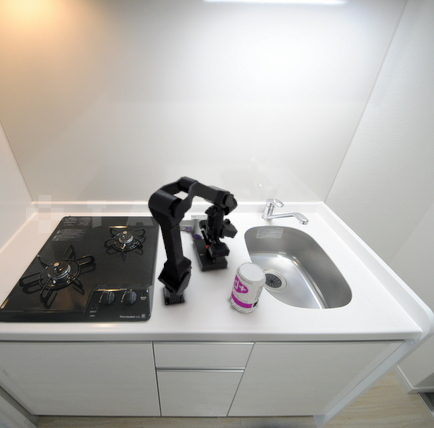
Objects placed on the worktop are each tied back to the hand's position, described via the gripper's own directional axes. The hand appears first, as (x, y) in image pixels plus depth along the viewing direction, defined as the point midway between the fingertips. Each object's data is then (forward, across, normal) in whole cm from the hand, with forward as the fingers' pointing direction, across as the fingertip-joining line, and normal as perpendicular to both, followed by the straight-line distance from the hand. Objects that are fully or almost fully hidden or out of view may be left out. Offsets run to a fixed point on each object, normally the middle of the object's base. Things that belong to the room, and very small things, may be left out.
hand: (210, 253), depth 82 cm
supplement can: (+4, -20, -5) cm, 21 cm away
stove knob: (0, 0, 0) cm, 0 cm away
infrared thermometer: (+4, +18, +6) cm, 19 cm away
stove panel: (+4, +2, 0) cm, 4 cm away
